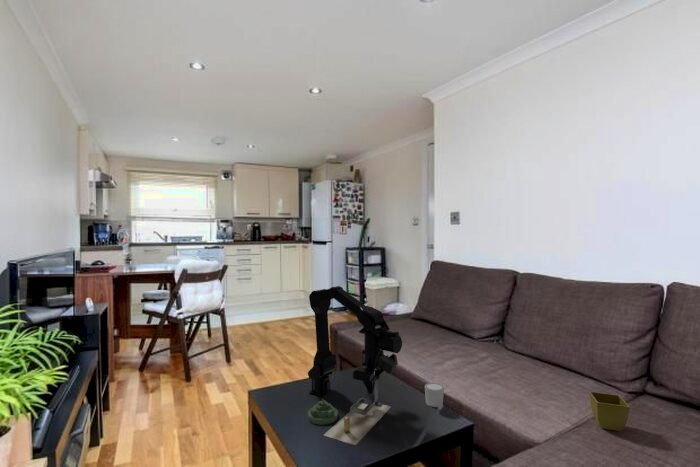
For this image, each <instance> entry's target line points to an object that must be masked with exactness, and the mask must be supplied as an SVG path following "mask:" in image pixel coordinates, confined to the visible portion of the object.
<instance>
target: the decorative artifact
mask: <svg viewBox="0 0 700 467" xmlns="http://www.w3.org/2000/svg"><path fill="white" fill-rule="evenodd" d="M338 418H339V412H338V409H337V408H335V407H334V406H333V405H332V404H331V403H329V402H328V401H326V400H324V398H322V399H321V400H320V401H318V402H317V403H316V404H314V405H313V407H310V409H308V411H307V420H308V421H309V422H310V423H312V424H315V425H320V426H321V425H323V426H324V425H329V424H332V423H334V422H335V421H337V420H338Z"/></svg>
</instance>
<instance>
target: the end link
mask: <svg viewBox="0 0 700 467" xmlns="http://www.w3.org/2000/svg"><path fill="white" fill-rule="evenodd" d="M378 399H379V381H378V378H375V379H374V383H373V391H372V394H369V393H368V391H367V390H366V398H365V397H360V398H359V399H358V400H357V401H356V402H354V404H352V405H351V406H350V408H349V412H354V413H357V414H361V415H365V414H366V413H367V412H369V411H370V410H371V409H372V408H373V407H374V406H375V401H376V400H377V401H378ZM362 403H364V404H368V406H366V407H365V408H364V409H360V408H358V407H359V406H360V405H361V404H362Z"/></svg>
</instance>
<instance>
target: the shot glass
mask: <svg viewBox="0 0 700 467" xmlns="http://www.w3.org/2000/svg"><path fill="white" fill-rule="evenodd" d="M444 390H445V386H444V385H442V384H440V383H436V382H428V383H426V384H425V385H424V394H425V404H426V405H428V406H429V407H432V408H433V407H434V408H436V410H437V411H438V410H441V409H443V402H444V393H445V392H444Z"/></svg>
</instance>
